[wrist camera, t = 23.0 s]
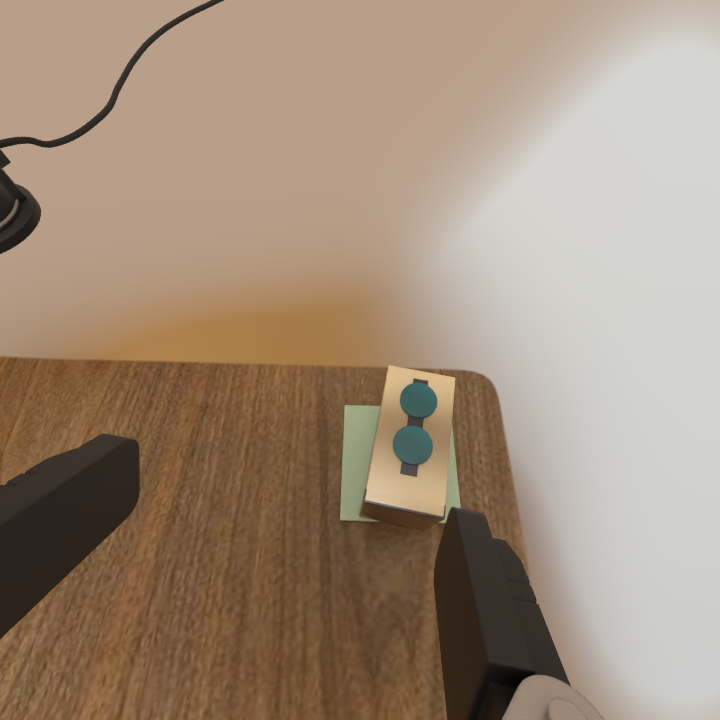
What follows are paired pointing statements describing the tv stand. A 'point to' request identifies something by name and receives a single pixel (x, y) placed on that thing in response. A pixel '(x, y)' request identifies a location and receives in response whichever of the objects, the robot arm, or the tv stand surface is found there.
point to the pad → (357, 460)
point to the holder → (410, 450)
